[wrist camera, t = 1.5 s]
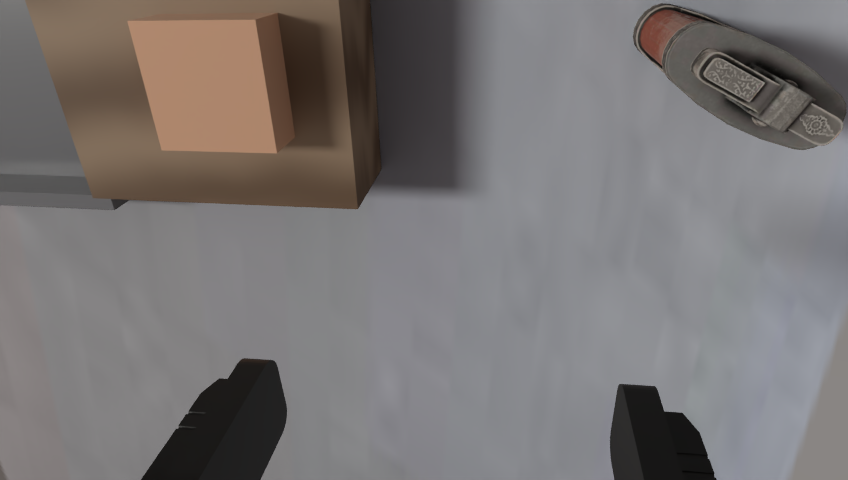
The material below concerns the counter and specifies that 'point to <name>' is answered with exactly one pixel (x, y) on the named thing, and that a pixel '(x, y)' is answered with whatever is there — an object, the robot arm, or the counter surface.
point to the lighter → (741, 78)
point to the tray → (35, 125)
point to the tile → (215, 81)
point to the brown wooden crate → (218, 171)
